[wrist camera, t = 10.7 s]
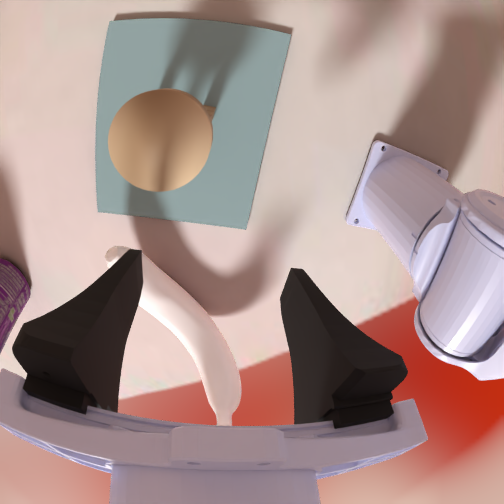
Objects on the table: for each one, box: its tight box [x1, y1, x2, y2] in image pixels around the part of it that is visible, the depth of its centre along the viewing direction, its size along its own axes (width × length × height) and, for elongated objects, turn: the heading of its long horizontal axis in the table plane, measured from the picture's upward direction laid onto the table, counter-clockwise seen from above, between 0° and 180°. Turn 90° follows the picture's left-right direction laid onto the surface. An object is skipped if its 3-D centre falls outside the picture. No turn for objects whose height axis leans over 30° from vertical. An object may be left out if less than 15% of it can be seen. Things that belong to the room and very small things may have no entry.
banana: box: [105, 246, 241, 426], centre depth 22 cm, size 5×19×15 cm, turn 31°
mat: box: [95, 18, 291, 230], centre depth 18 cm, size 13×16×1 cm
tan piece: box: [108, 88, 216, 192], centre depth 15 cm, size 5×5×7 cm
